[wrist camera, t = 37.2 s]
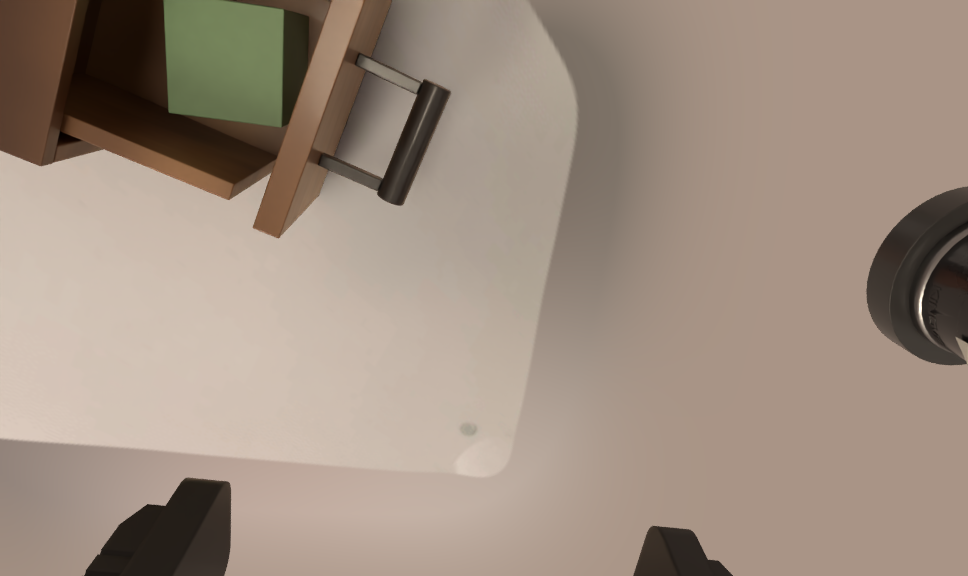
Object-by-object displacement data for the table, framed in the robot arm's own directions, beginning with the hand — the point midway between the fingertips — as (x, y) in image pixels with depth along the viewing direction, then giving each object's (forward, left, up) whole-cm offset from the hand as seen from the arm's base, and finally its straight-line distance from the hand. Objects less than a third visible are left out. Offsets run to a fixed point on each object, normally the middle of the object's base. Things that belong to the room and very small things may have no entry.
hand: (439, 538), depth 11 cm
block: (+6, -11, -25) cm, 28 cm away
